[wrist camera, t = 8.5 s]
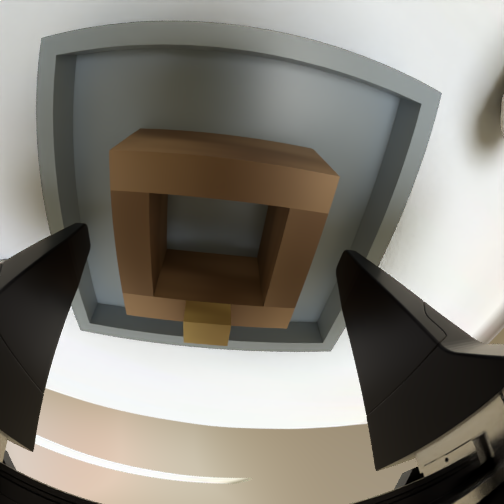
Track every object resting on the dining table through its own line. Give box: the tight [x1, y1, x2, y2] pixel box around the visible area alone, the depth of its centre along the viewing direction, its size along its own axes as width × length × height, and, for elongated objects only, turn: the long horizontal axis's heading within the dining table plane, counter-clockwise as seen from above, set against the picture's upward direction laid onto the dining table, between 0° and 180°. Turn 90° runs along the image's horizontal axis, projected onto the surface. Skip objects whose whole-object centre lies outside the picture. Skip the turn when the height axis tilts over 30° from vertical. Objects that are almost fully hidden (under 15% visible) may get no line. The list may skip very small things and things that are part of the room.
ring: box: [109, 128, 340, 346], centre depth 10 cm, size 6×6×4 cm
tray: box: [36, 21, 442, 352], centre depth 11 cm, size 14×14×2 cm
